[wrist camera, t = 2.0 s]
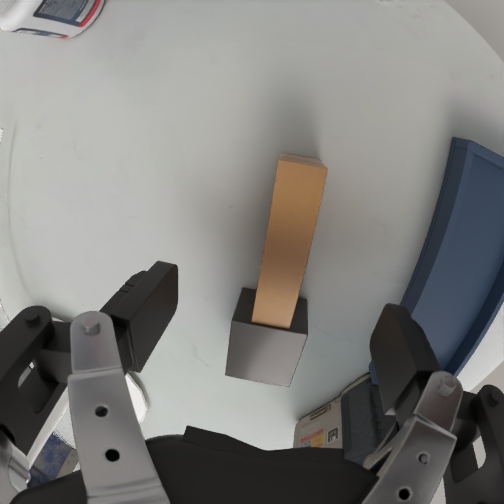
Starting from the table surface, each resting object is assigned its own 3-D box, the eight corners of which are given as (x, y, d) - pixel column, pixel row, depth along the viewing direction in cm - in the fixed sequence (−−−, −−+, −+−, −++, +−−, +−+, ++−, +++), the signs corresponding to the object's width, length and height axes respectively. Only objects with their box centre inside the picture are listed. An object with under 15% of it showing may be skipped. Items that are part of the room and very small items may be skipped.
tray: (452, 136, 13) (468, 139, 11) (529, 177, 12) (546, 184, 11) (368, 366, 21) (372, 384, 19) (443, 370, 20) (450, 386, 18)
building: (16, 418, 55) (-14, 464, 34) (11, 398, 45) (-29, 456, 24) (73, 462, 58) (48, 511, 38) (81, 454, 49) (49, 518, 28)
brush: (262, 149, 15) (253, 155, 12) (340, 164, 15) (352, 174, 12) (235, 341, 21) (225, 375, 18) (291, 351, 21) (289, 387, 18)
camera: (376, 363, 21) (396, 471, 12) (409, 387, 22) (430, 478, 13) (282, 419, 25) (272, 507, 16) (320, 436, 26) (318, 515, 17)
